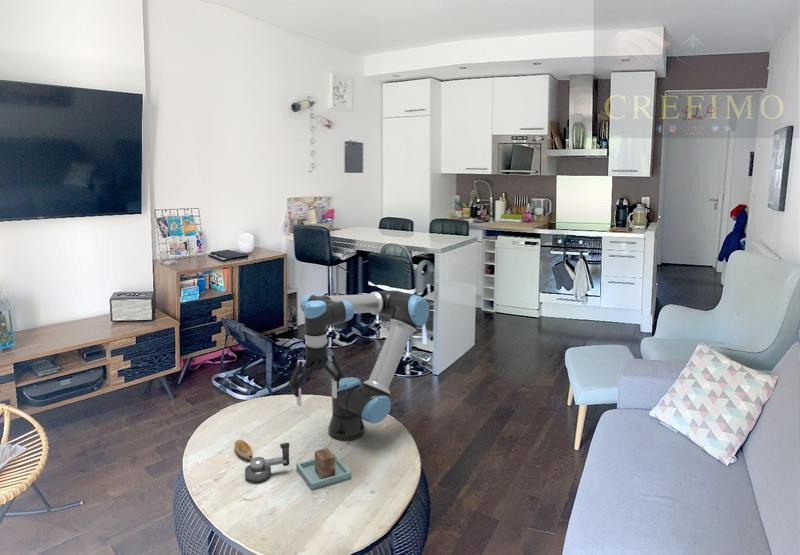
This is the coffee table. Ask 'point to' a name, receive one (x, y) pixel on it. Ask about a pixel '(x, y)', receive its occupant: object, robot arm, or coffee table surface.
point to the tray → (313, 479)
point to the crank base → (257, 475)
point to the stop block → (324, 463)
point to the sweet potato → (243, 449)
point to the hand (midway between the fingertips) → (317, 400)
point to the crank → (271, 460)
